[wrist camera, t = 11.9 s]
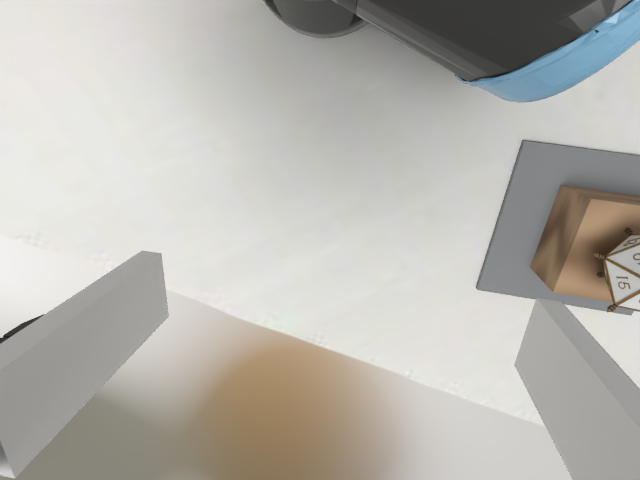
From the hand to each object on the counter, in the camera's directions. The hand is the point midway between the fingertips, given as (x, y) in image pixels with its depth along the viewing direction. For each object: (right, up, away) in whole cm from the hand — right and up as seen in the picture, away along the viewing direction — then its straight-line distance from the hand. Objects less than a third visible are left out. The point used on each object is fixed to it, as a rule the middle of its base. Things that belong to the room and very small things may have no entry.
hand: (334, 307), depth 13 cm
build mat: (+29, +3, +28) cm, 41 cm away
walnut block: (+30, +3, +28) cm, 41 cm away
